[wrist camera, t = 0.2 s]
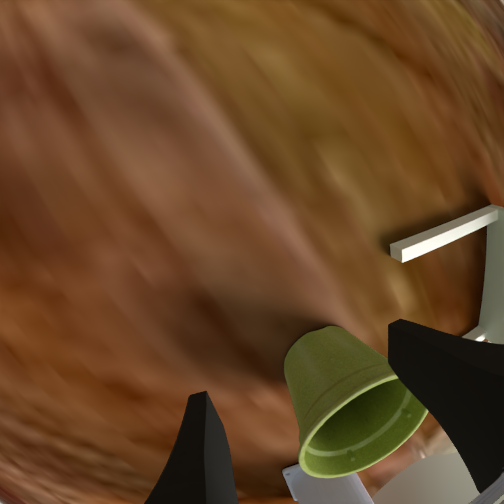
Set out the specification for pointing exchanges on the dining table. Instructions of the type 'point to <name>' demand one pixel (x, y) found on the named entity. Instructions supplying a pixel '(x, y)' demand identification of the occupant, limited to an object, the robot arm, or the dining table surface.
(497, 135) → the dining table surface
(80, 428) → the dining table surface
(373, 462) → the plant pot
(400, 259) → the display bay
